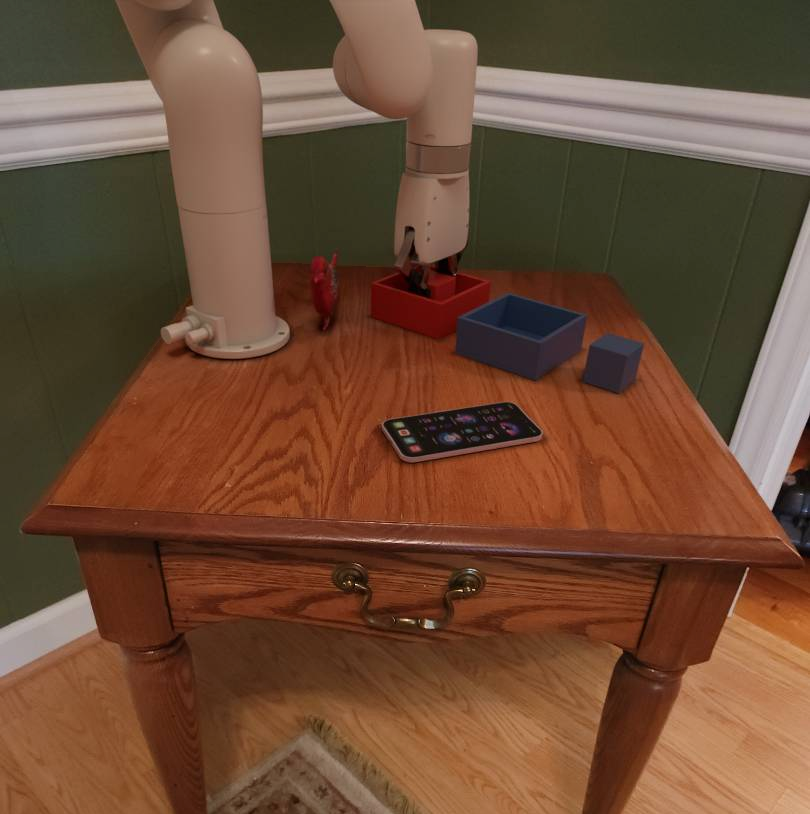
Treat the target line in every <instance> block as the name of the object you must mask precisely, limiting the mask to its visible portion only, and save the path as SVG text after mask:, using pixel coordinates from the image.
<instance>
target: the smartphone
mask: <svg viewBox="0 0 810 814" xmlns="http://www.w3.org/2000/svg"><path fill="white" fill-rule="evenodd" d="M381 431H382V432H383V434H384V436H385V437H386V439H387V441H389V443H390V445H391V446H392V448H393V450H394V451H395V453H396V454H397V456H398V457H399V459H400V460H401V461H403V462H406V463H419V462H425V461H431V460H436V459H441V458H447V457H454V456H459V455H460V456H461V455H465V454H472V453H478V452H483V451H488V450H494V449H499V448H507V447H511V446H517V445H522V444H524V445H525V444H529V443H536V442H540V441H541V440H542V439H543V433H544V432H543V430H542V428H540V426H538V424H536V422H535V421H534V420H533V419H532V418H530V416H528V414H527V413H526V412H525V411H524V410H523V409H522V408H521V407H520V406H519V405H518V404H517V403H514V402H511V401H499V402H492V403H486V404H481V405H473V406H466V407H459V408H453V409H447V410H441V411H434V412H428V413H421V414H420V413H419V414H413V415H406V416H400V417H394V418H388V419H385V420H384V421H382V423H381Z"/></svg>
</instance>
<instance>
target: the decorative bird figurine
mask: <svg viewBox="0 0 810 814" xmlns="http://www.w3.org/2000/svg"><path fill="white" fill-rule="evenodd" d="M338 255H339V251H338V250H335V251H334V253H333V256H332V259H331V261H330V263H329V262H328V260H327V259H326V258H325V257H323V256H320V255H316V256H314V257H313V258H312V261H311V264H310V269H309V281H310V282H309V283H310V297H311V303H312V305H313V308H314V310H315V311H316V312H317V313H318V314H319V315H320V316H324V322H323V324H322V326H323V329H322V332H324V331H325V330H326V329H327V328H328V327H329V324H330V320H331V319H330V317H331V314H332V313H333V311H334V310H335V308H336V305H337V301H338V296H339V273H338V270H337V266H338Z"/></svg>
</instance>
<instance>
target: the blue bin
mask: <svg viewBox="0 0 810 814" xmlns="http://www.w3.org/2000/svg"><path fill="white" fill-rule="evenodd" d="M588 317H589V316H588V314H585V313H583V312H578V311H575V310H572V309H568V308H565V307H561V306H558V305H554V304H550V303H547V302H543V301H540V300H536V299H533V298H529V297H526V296H521V295H518V294H514V293H511V292H506V293H504V294H502V295H500V296H498V297H496V298H494V299H491V300H489V302H488V303H486V304H484V305H482V306H480V307H478V308H476V309H474V310H472V311H470V312H468V313H466V314H463V315H461V316H460V317H458V322H457V331H456V336H455V350H454V354H456V355H459V356H462V357H465V358H468V359H471V360H473V361H477V362H479V363H483V364H484V365H488V366H491V367H494V368H497V369H500V370H503V371H506V372H509V373H512V374H514V375H518V376H520V377H524V378H526V379H529V380H532V381H534V382H536V381H538V380H539V379H540V378H542V377H543V376H545V375H546V374H548V373H549V372H551V371H552V370H554V369H556V368H557V367H558V366H560V365H561V364H563V363H564V362H566V361H567V360H569V359H570V358H572V357H573V356H575V355H576V354H578V353H579V352H581V351H582V347H583V342H584V336H585V331H586V326H587V321H588Z"/></svg>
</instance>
